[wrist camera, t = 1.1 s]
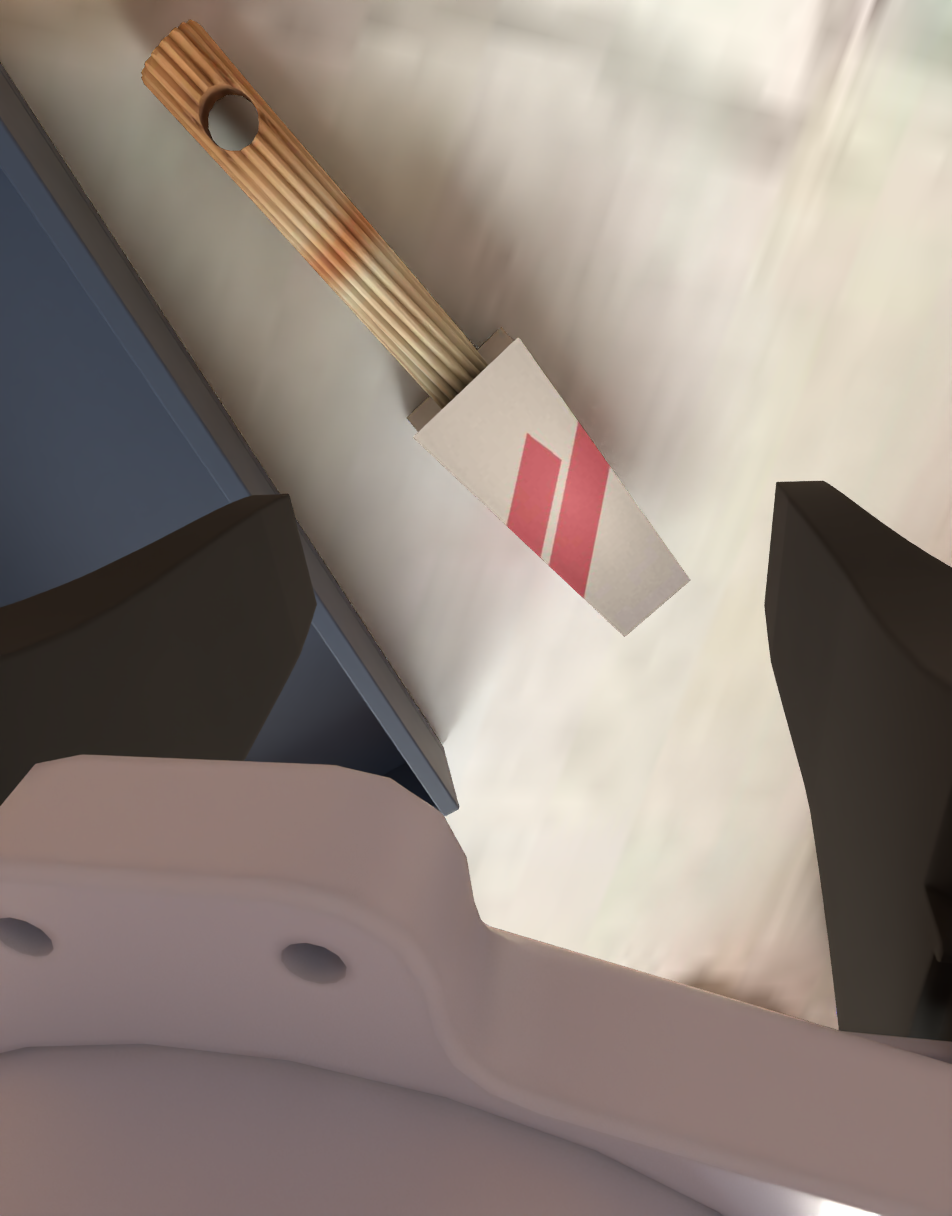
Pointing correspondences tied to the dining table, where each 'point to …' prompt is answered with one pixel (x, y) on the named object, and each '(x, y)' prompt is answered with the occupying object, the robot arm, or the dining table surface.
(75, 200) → the tray
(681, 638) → the dining table surface
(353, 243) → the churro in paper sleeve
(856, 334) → the dining table surface
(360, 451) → the dining table surface
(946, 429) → the dining table surface
